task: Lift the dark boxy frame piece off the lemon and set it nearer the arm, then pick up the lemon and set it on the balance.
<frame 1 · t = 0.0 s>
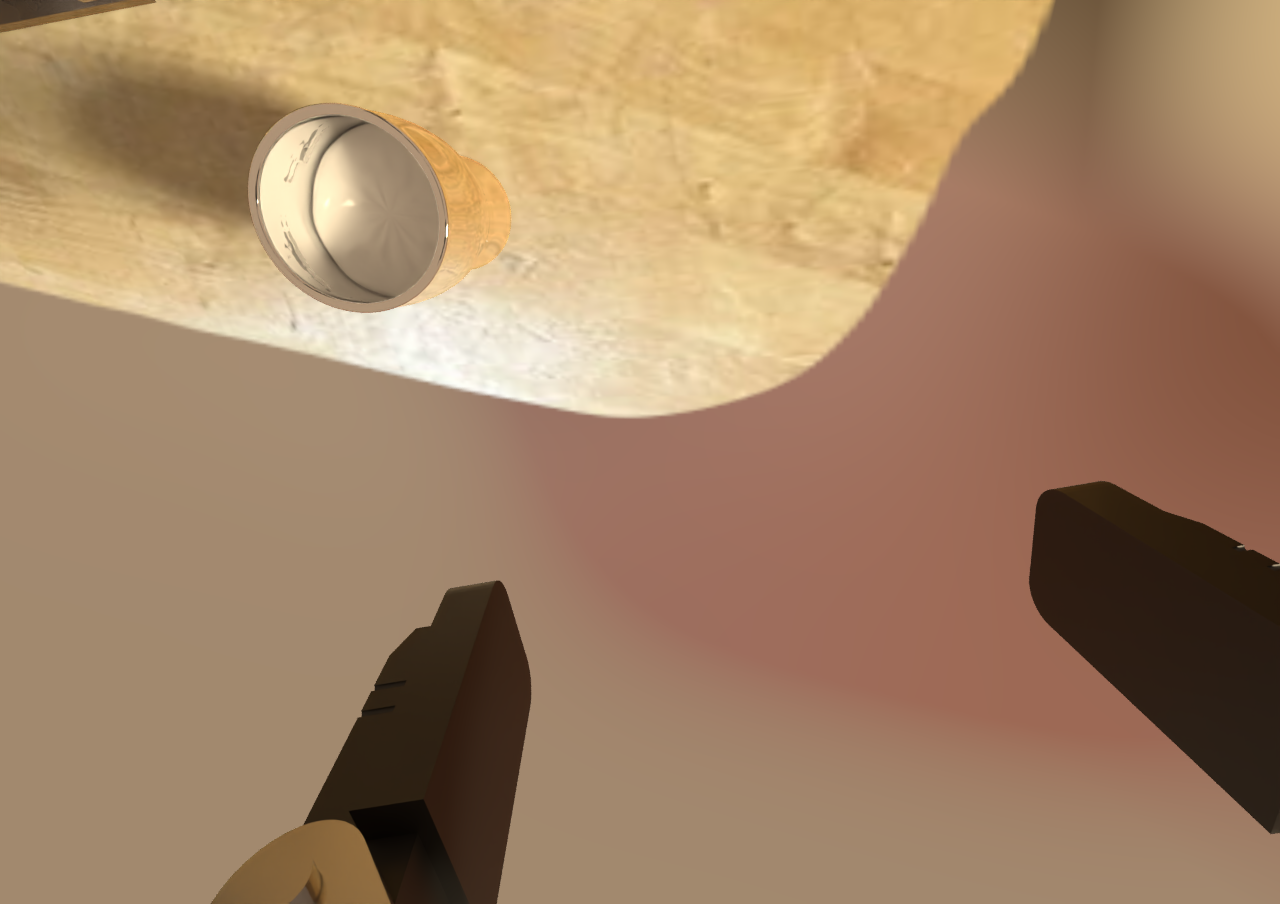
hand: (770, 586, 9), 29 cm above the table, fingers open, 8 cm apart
beer glass: (459, 214, 34), on the table
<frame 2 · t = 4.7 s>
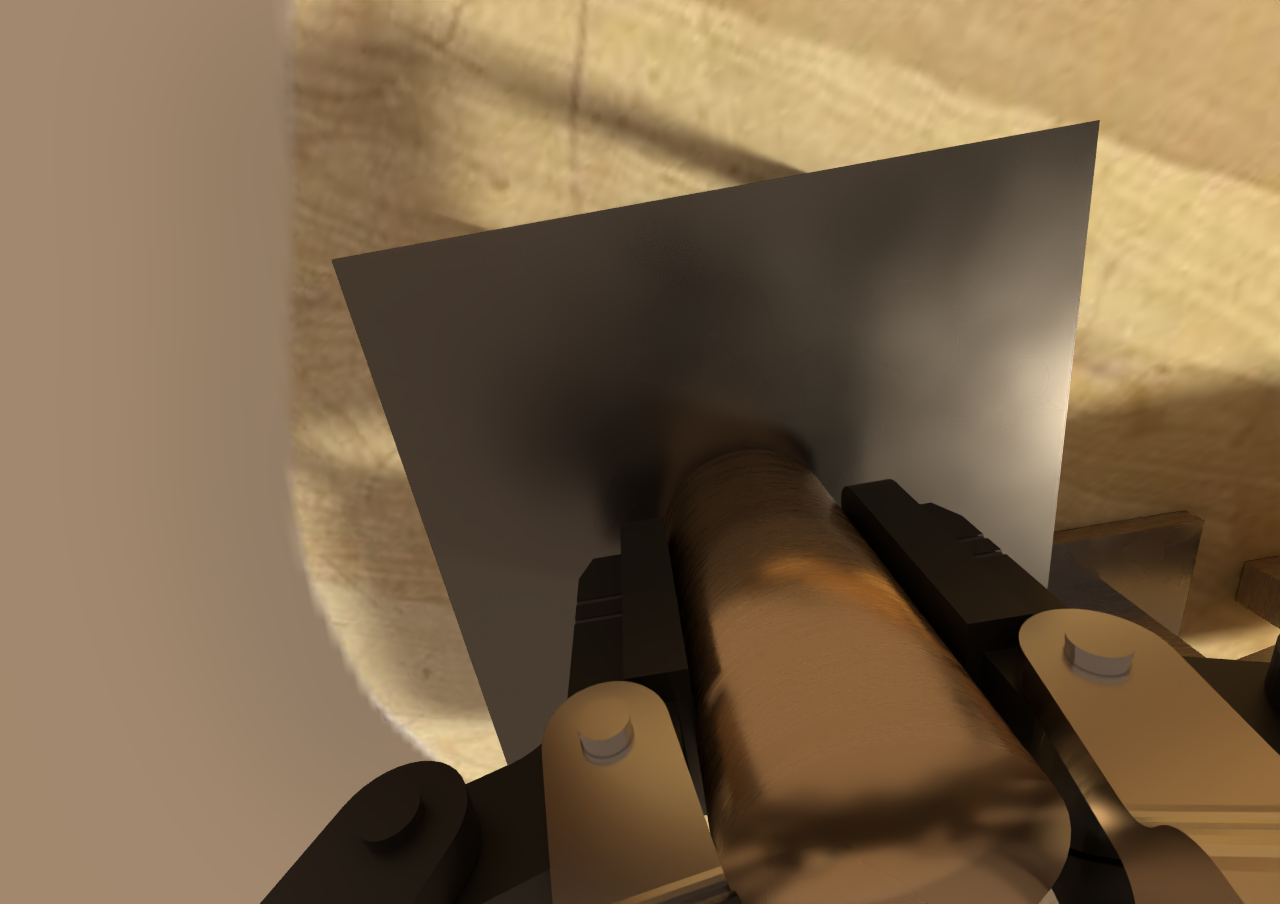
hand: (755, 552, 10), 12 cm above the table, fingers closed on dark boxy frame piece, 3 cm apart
dark boxy frame piece: (682, 375, 21), on the table, touching gripper
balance: (1050, 612, 25), on the table
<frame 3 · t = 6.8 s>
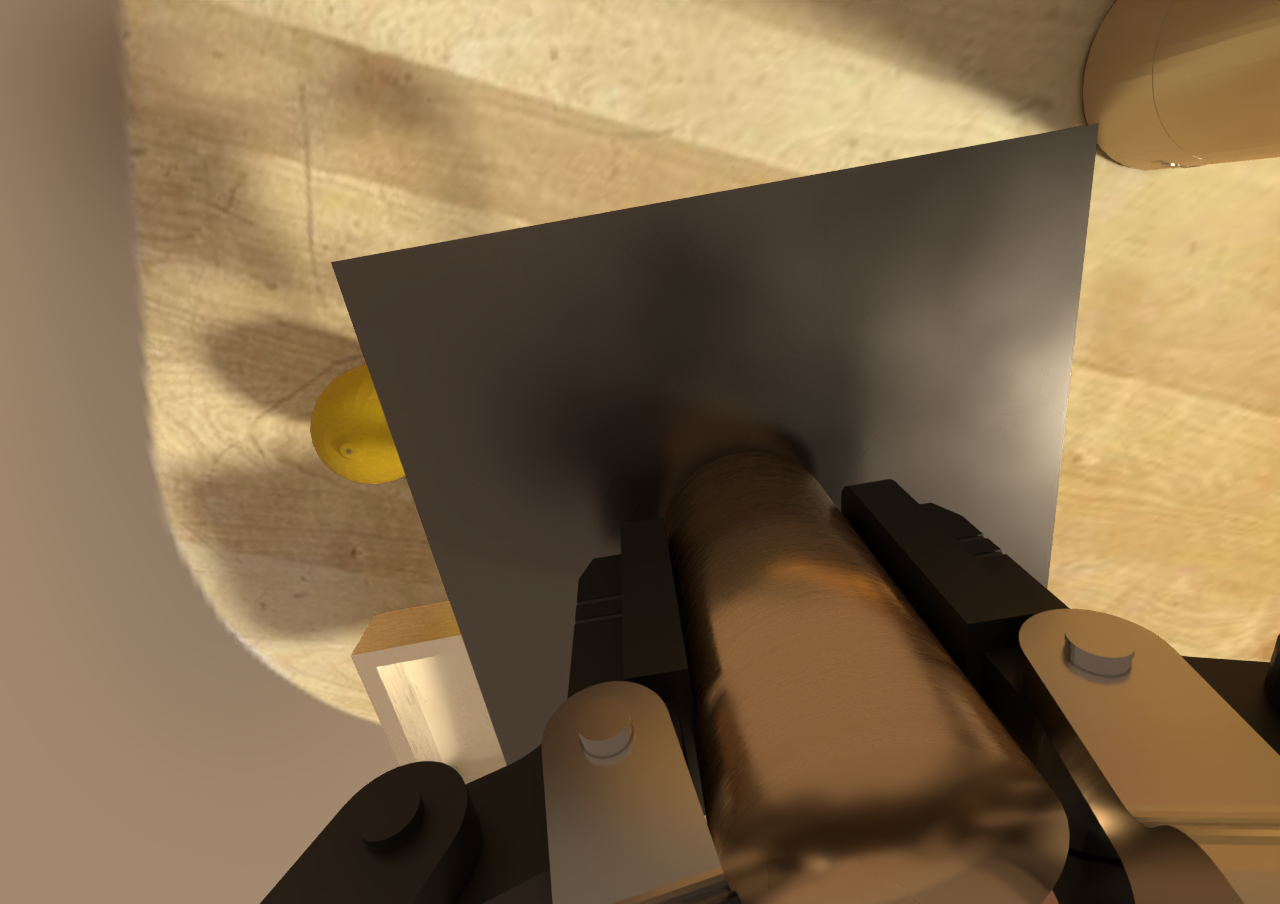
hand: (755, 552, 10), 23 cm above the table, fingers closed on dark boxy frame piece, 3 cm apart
dark boxy frame piece: (682, 376, 21), point 12 cm above the table, touching gripper
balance: (693, 555, 37), on the table
lemon: (407, 398, 32), on the table
when the fingers open (13 cm above the table, at t = 9.0 s): dark boxy frame piece stays where it is, on the table.
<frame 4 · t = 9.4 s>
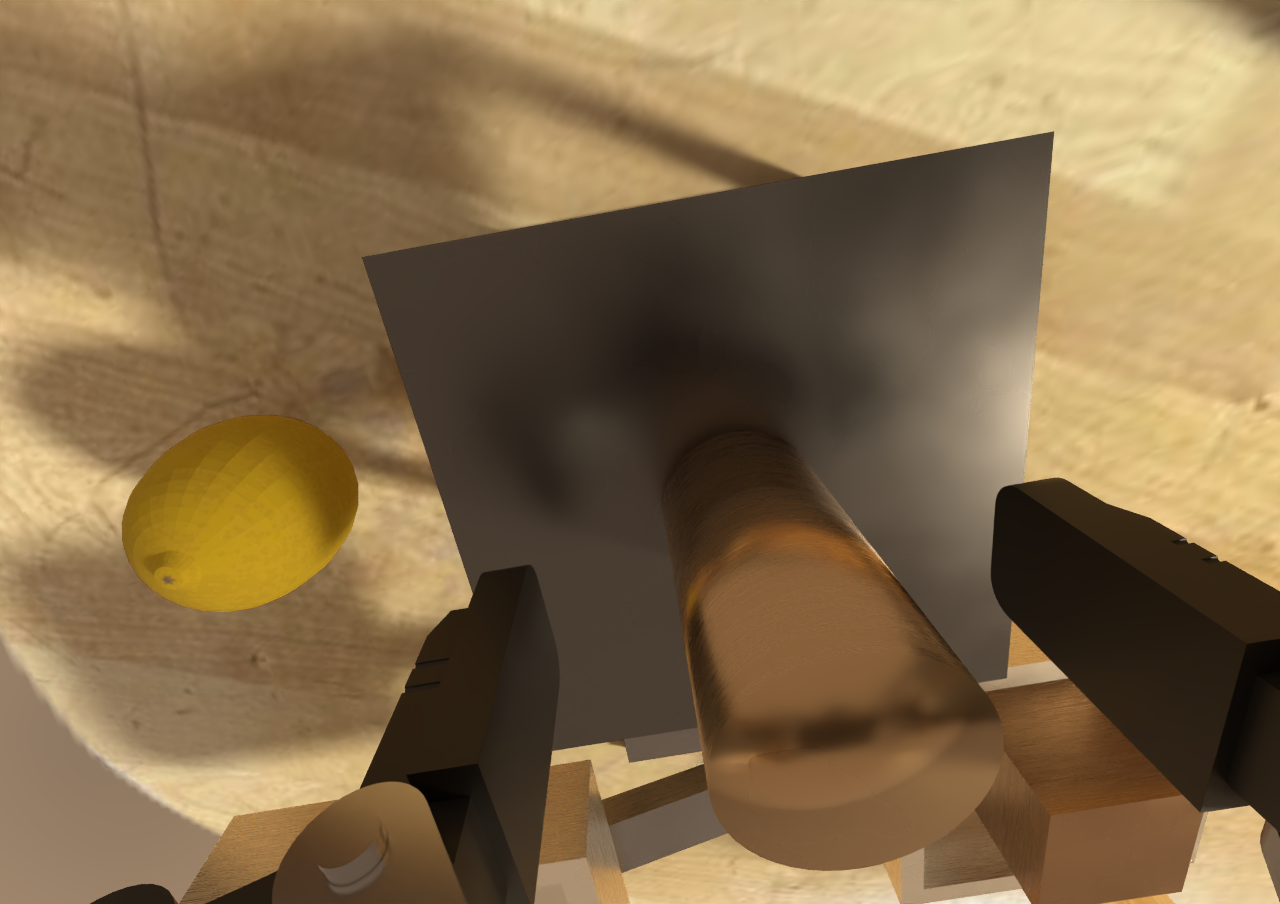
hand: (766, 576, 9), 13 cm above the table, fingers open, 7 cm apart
dark boxy frame piece: (680, 369, 22), on the table
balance: (722, 667, 27), on the table
lemon: (318, 456, 22), on the table
beer glass: (1059, 840, 33), on the table
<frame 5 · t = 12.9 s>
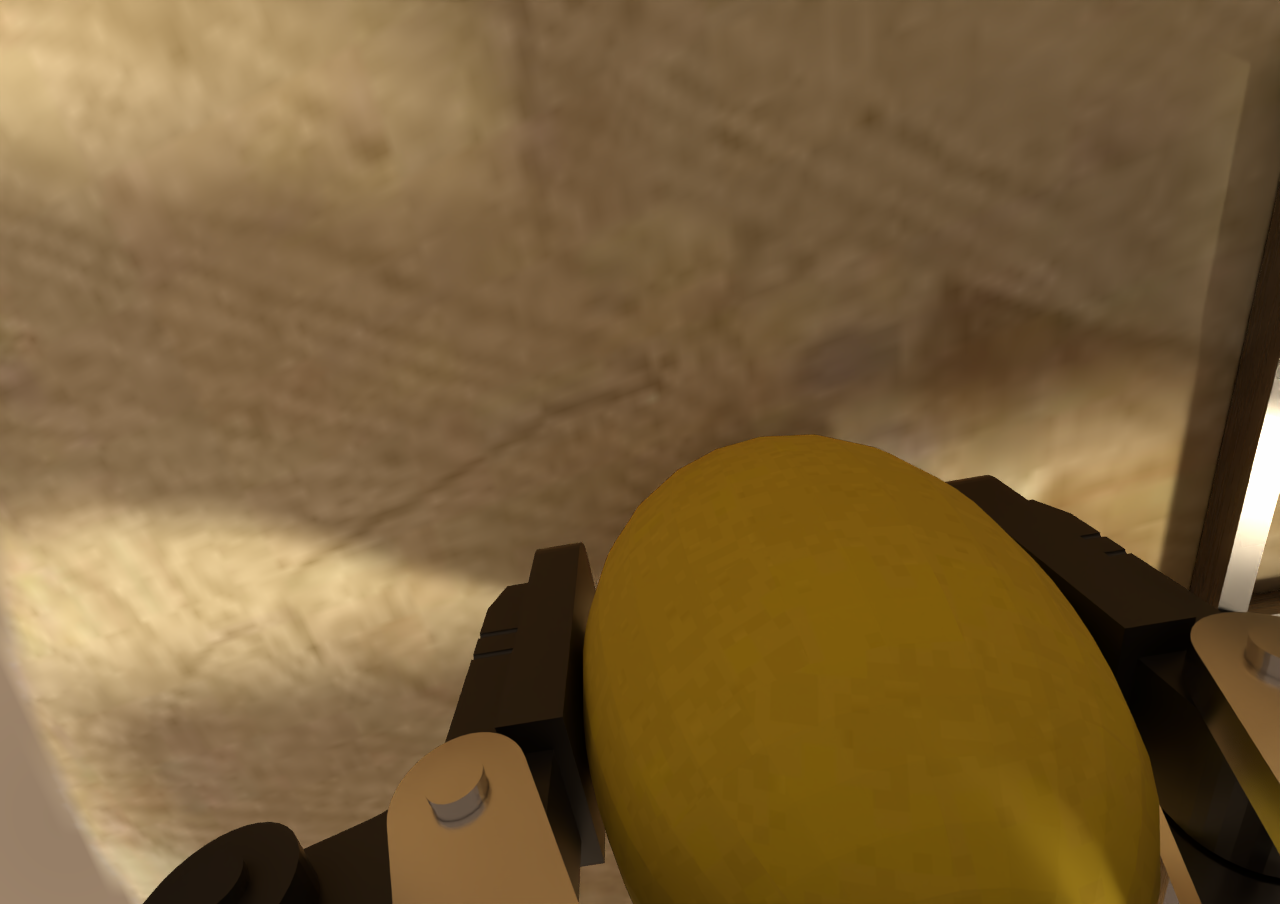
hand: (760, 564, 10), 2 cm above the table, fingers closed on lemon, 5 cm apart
lemon: (741, 511, 11), on the table, touching gripper
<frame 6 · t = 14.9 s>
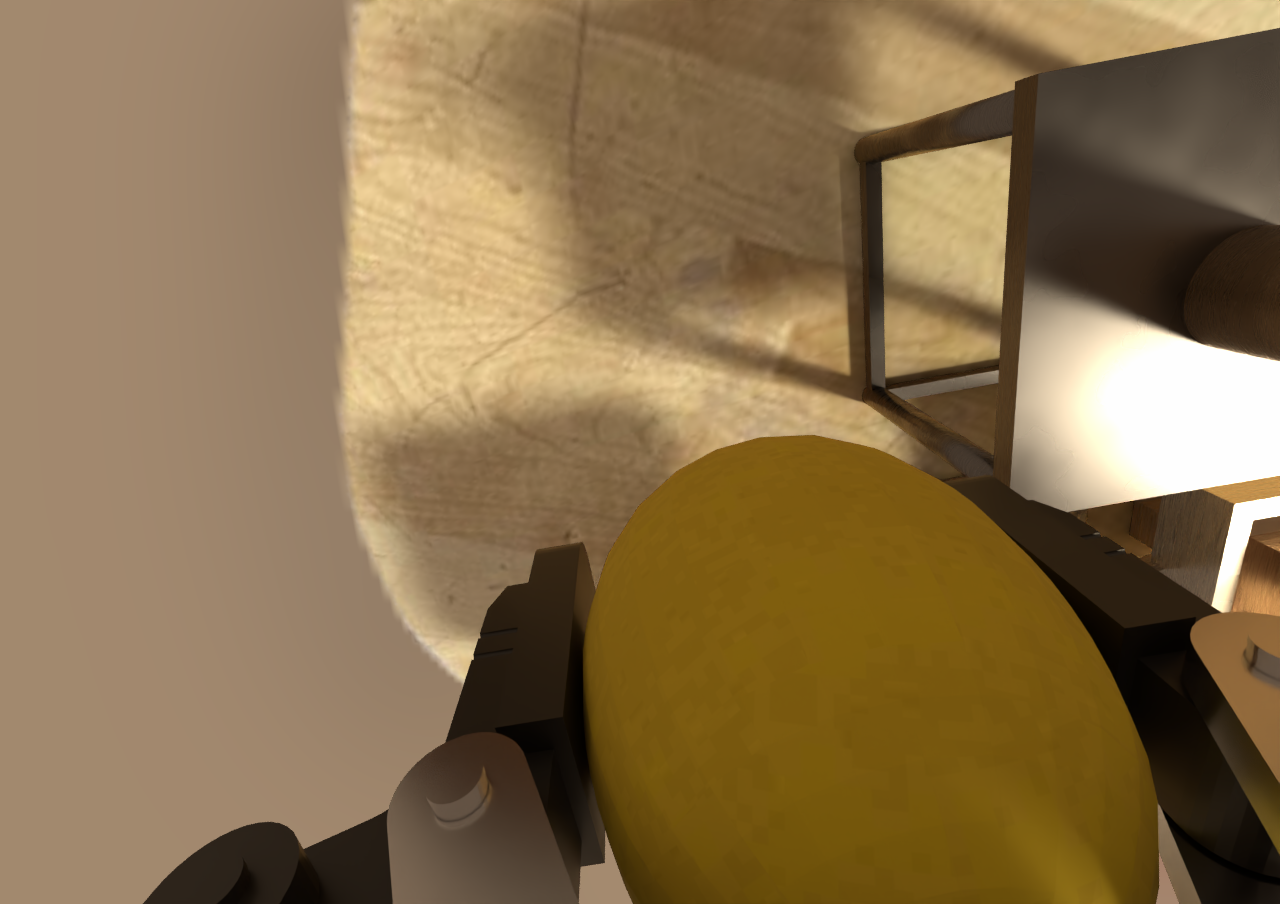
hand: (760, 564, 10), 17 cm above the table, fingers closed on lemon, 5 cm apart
dark boxy frame piece: (988, 259, 25), on the table
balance: (973, 544, 30), on the table
lemon: (741, 512, 11), point 16 cm above the table, touching gripper
when the fingers open (12 cm above the table, at t = 17.2 s): lemon stays where it is, resting on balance.
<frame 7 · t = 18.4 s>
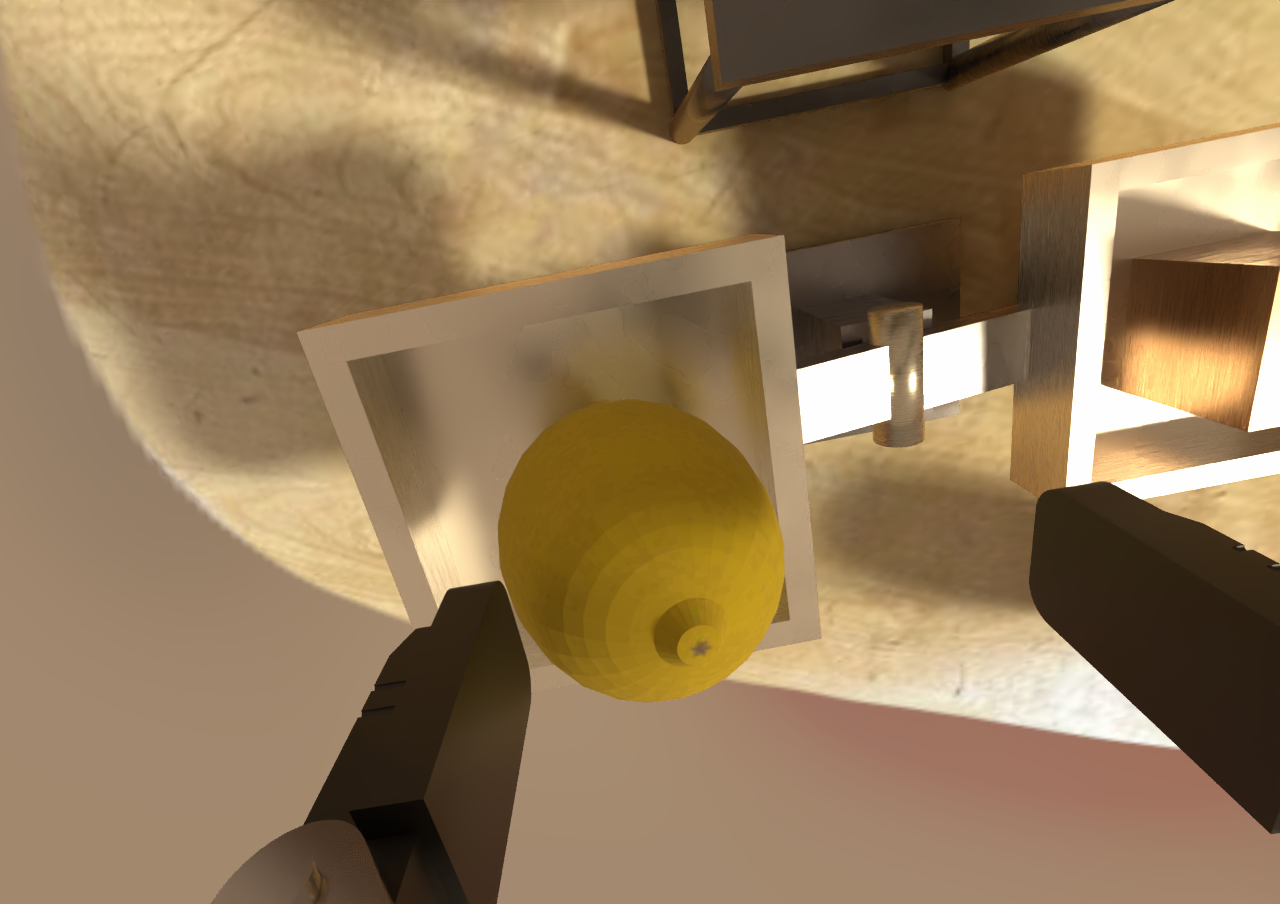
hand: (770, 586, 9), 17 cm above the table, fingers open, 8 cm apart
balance: (831, 342, 25), on the table
lemon: (597, 471, 16), point 9 cm above the table, touching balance
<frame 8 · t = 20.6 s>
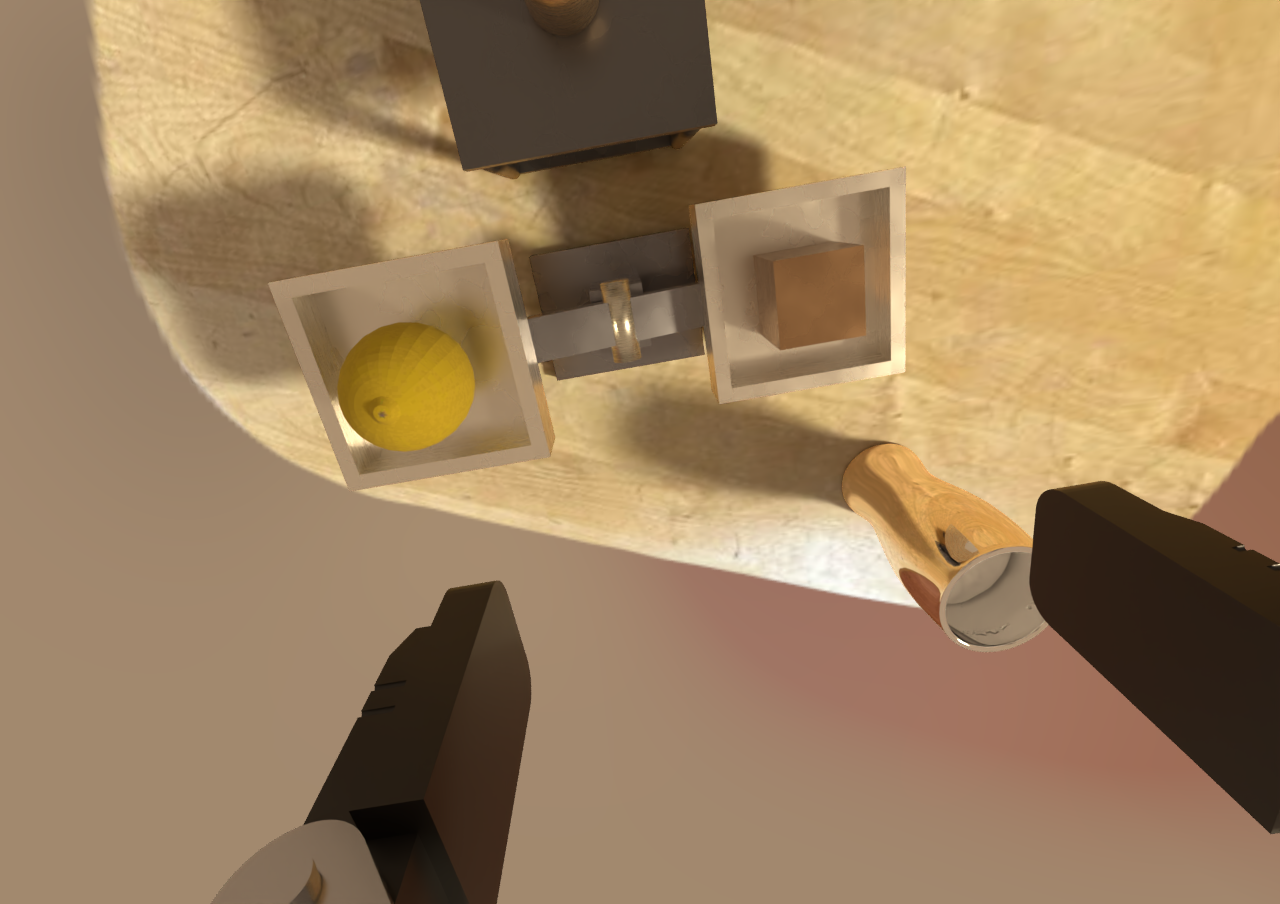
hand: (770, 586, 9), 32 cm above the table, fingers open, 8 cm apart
dark boxy frame piece: (577, 58, 34), on the table
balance: (619, 305, 39), on the table
lemon: (433, 363, 30), point 9 cm above the table, touching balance
beer glass: (880, 479, 45), on the table
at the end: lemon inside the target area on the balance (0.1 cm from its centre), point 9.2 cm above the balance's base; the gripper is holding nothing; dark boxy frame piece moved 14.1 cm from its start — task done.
